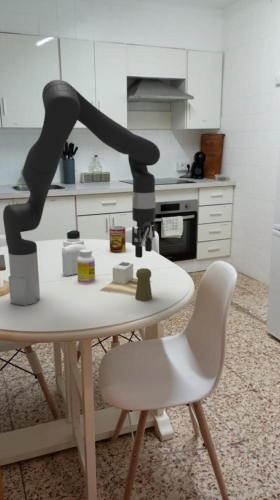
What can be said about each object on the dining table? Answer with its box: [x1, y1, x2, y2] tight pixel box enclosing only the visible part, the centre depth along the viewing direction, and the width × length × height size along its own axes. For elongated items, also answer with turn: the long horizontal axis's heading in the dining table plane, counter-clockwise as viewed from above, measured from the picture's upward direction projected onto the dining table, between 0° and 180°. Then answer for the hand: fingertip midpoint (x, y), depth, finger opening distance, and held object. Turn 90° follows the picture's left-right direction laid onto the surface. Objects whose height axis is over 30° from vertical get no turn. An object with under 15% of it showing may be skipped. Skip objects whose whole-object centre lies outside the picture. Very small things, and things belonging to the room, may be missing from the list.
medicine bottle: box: [62, 229, 85, 249], centre depth 194 cm, size 7×7×12 cm
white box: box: [112, 261, 134, 284], centre depth 158 cm, size 8×5×6 cm, turn 157°
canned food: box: [109, 225, 127, 254], centre depth 202 cm, size 8×8×12 cm
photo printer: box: [61, 244, 87, 277], centre depth 167 cm, size 10×4×12 cm, turn 123°
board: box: [99, 278, 153, 297], centre depth 153 cm, size 17×14×1 cm
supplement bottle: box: [77, 248, 96, 285], centre depth 157 cm, size 7×7×13 cm
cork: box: [134, 267, 153, 302], centre depth 140 cm, size 6×6×11 cm
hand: (143, 254), depth 137 cm, fingers open, 8 cm apart
